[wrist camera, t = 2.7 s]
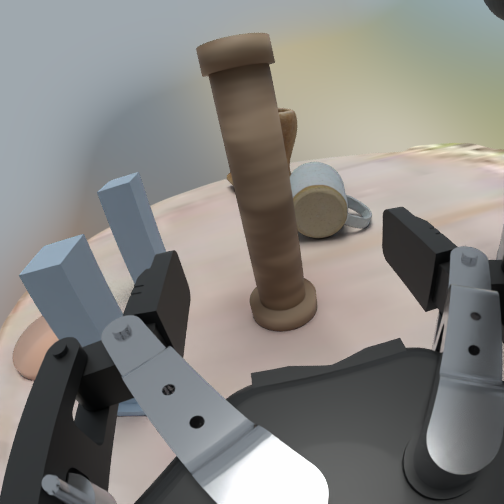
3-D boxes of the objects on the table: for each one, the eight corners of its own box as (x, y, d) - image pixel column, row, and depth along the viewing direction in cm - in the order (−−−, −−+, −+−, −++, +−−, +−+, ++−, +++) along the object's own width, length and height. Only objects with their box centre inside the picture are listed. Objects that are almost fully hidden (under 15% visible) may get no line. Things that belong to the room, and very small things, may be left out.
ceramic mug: (290, 245, 37) (282, 184, 33) (291, 216, 44) (284, 164, 40) (378, 237, 35) (378, 175, 31) (364, 209, 42) (362, 157, 38)
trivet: (102, 342, 28) (98, 335, 27) (23, 396, 22) (17, 390, 21) (77, 301, 35) (73, 295, 35) (14, 343, 29) (9, 337, 29)
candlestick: (329, 300, 27) (294, 32, 16) (288, 341, 24) (227, 31, 13) (281, 281, 31) (236, 48, 20) (239, 314, 28) (172, 56, 17)
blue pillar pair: (160, 414, 20) (65, 269, 13) (104, 415, 20) (5, 284, 13) (182, 272, 36) (147, 168, 30) (144, 280, 36) (105, 181, 30)
